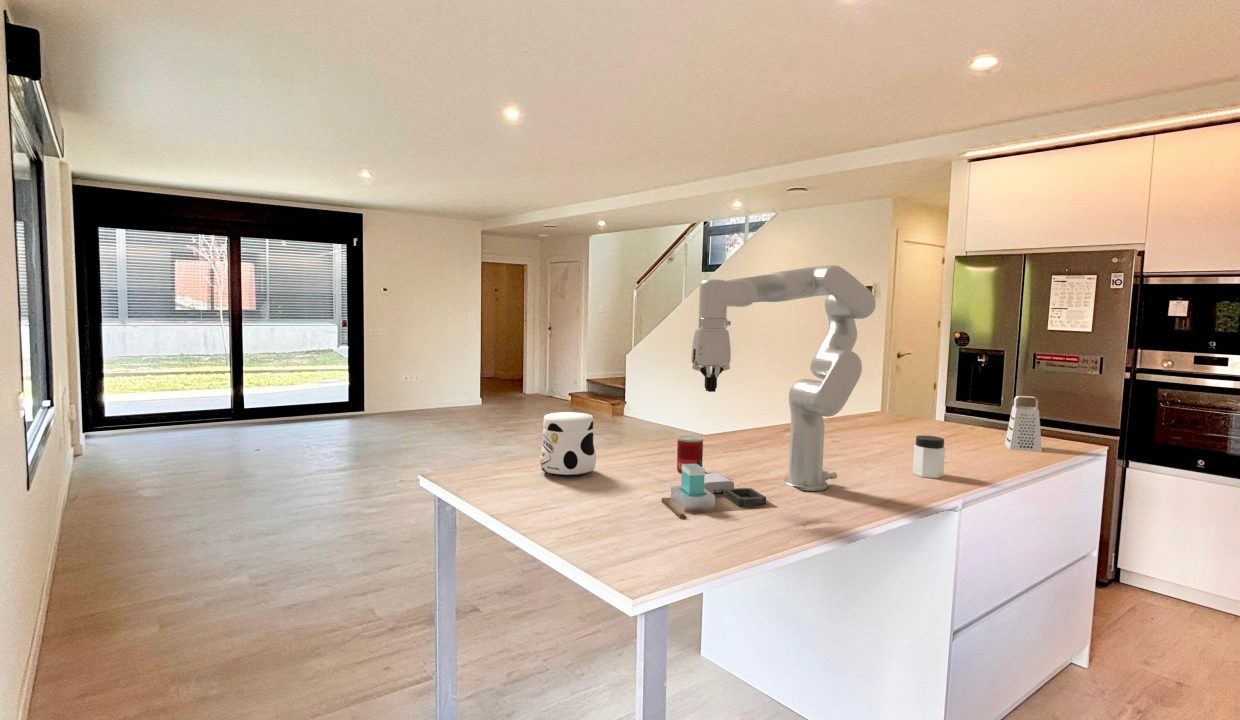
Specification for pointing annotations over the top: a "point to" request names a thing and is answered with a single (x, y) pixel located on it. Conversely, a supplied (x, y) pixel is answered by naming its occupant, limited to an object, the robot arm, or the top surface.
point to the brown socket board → (727, 502)
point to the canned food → (689, 451)
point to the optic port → (692, 500)
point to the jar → (929, 457)
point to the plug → (692, 479)
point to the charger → (717, 483)
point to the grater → (1024, 428)
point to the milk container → (568, 444)
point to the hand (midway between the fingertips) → (710, 391)
